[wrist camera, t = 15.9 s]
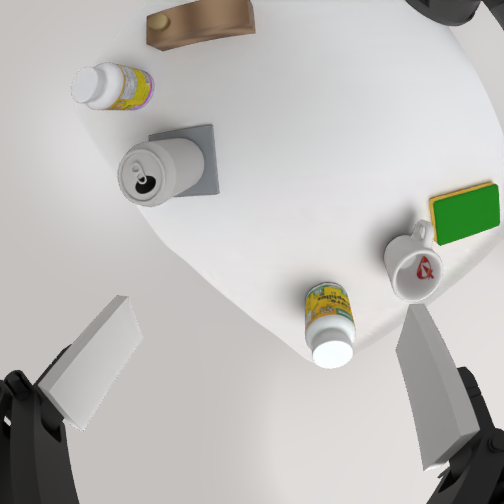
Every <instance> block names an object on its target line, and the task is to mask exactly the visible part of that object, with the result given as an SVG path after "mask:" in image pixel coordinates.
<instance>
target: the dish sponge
mask: <svg viewBox="0 0 504 504" xmlns="http://www.w3.org/2000/svg"><path fill="white" fill-rule="evenodd" d="M429 204H430V211H431V219H432V226H433V228H434V241H435V242H436V243H437V244H439V245H440V246H441V245H444V244H447V243H450V242H453V241H456V240H459V239H462V238H465V237H468V236H471V235H474V234H477V233H480V232H482V231H485V230H488V229H491V228H494V227H496V226H499V224H500V207H499V190H498V185H497V184H494V183H492V182H489V183H485V184H482V185H478V186H474V187H471V188H467V189H464V190H460V191H456V192H453V193H449V194H446V195H442V196H439V197H435V198H431V199H430V201H429Z"/></svg>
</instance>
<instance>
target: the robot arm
mask: <svg viewBox="0 0 504 504" xmlns="http://www.w3.org/2000/svg"><path fill="white" fill-rule="evenodd" d="M406 1H407V2H408V3H409V4H410V5H411V6H412V7H414V8H415V9H416V10H417V11H419V12H420V13H422V14H423V15H425V16H426V17H428V18H430V19H432V20H434V21H436V22H438V23H441V24H444V25H448V26H460V25H462V24H465V23H466V22H468V21H470V20H471V19H472V18H473V16H474V14H475V11H476V10H477V8H478V6H479V4H480V1H483V2H484V3H485V5H486V6H487V7H488V9H489V10H490V11H491V13H492V14H493V16H494V17H495V18H496V20H497V21H498V22H499V24H500V25H501V27H502V28H503V30H504V0H406ZM142 339H143V336H142V333H141V331H140V328H139V325H138V323H137V320H136V317H135V314H134V311H133V308H132V306H131V302H130V300H129V297H127V296H119V295H117V296H116V297H115V298H114V299H113V300H112V301H111V302H110V303H109V304H108V305H107V306H106V307H105V308H104V310H103V311H102V312H101V313H100V314H99V315H98V316H97V317H96V318H95V319H94V320H93V321H92V322H91V324H90V325H89V326H88V327H87V328H86V329H85V330H84V331H83V333H81V335H80V336H79V337H78V338H77V339H76V340H75V341H74V343H73V344H71V345H69V346H68V347H66V348H65V349H63V350H62V351H61V352H60V354H59V355H58V356H57V358H56V359H54V361H53V362H52V364H50V365H49V367H48V368H47V369H46V370H45V371H44V373H43V374H42V375H41V376H40V377H39V379H38V380H37V381H36V383H34V385H32V384H31V383H30V382H29V380H28V379H27V377H26V376H25V375H24V373H23V372H22V371H20V370H15V371H12V372H11V373H9V374H8V375H7V376H6V377H5V379H4V381H3V380H0V504H79V500H78V497H77V493H76V489H75V485H74V480H73V475H72V470H71V465H70V459H69V453H68V447H67V439H66V431H65V425H64V423H63V422H62V421H63V419H64V418H65V419H66V420H67V421H68V422H69V423H70V425H72V426H73V427H75V428H77V429H79V430H81V431H84V429H85V427H86V426H87V424H88V423H89V421H90V419H91V418H92V416H93V414H94V413H95V411H96V409H97V408H98V407H99V405H100V403H101V402H102V400H103V398H104V397H105V395H106V394H107V392H108V391H109V389H110V387H111V386H112V385H113V383H114V382H115V380H116V378H117V377H118V375H119V374H120V372H121V371H122V369H123V368H124V366H125V365H126V363H127V362H128V360H129V359H130V357H131V356H132V354H133V353H134V351H135V350H136V348H137V347H138V346H139V344H140V343H141V341H142ZM396 353H397V357H398V360H399V363H400V367H401V370H402V374H403V377H404V381H405V384H406V388H407V392H408V396H409V400H410V404H411V408H412V412H413V417H414V421H415V426H416V431H417V436H418V441H419V446H420V452H421V458H422V464H423V471H427V470H430V469H434V468H438V467H441V466H442V465H443V464H444V463H446V462H447V461H448V460H449V463H450V466H449V467H448V468H447V469H446V470H445V471H443V472H442V473H441V474H440V475H439V476H438V478H441V477H442V476H443V475H444V476H443V478H442V479H441V481H440V483H439V485H438V486H437V488H436V490H435V491H434V493H433V494H432V496H431V498H430V499H429V501H428V502H427V503H426V504H504V431H503V430H501V429H498V428H495V426H494V424H493V422H492V419H491V417H490V414H489V411H488V409H487V406H486V403H485V401H484V398H483V396H481V391H480V389H479V387H478V384H477V382H476V380H475V377H474V375H473V374H472V373H471V372H470V371H469V370H468V369H467V368H466V367H460V368H456V366H455V363H454V361H453V359H452V357H451V355H450V353H449V350H448V349H447V346H446V344H445V342H444V340H443V338H442V337H441V334H440V332H439V330H438V328H437V327H436V325H435V323H434V321H433V319H432V317H431V315H430V313H429V312H428V310H427V308H426V306H425V304H409V307H408V311H407V315H406V318H405V322H404V325H403V329H402V332H401V335H400V338H399V341H398V344H397V347H396ZM5 416H6V417H7V418H8V419H9V420H10V421H11V425H10V426H9V425H8V424H7V423H6V422H5V421H4V417H5Z"/></svg>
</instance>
